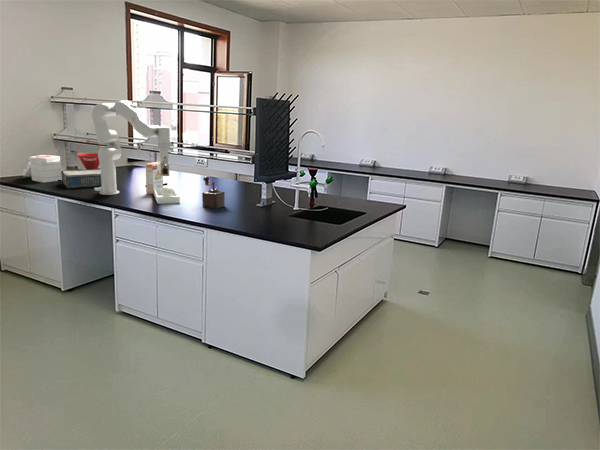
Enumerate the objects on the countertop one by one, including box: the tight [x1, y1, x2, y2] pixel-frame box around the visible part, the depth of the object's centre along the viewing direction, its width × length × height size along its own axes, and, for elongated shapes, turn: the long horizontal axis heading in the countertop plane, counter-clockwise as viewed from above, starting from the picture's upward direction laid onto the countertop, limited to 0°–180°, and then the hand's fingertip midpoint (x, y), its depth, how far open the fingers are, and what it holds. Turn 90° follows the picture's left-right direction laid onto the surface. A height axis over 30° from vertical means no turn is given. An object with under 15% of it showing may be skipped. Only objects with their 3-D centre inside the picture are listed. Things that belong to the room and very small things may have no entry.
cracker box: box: [145, 161, 164, 195], centre depth 324 cm, size 14×6×21 cm, turn 168°
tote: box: [153, 187, 181, 205], centre depth 304 cm, size 14×30×5 cm, turn 22°
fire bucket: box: [75, 140, 103, 170], centre depth 365 cm, size 22×20×30 cm
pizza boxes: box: [21, 154, 63, 183], centre depth 353 cm, size 19×30×18 cm, turn 58°
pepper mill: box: [201, 176, 226, 210], centre depth 291 cm, size 16×11×18 cm
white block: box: [162, 187, 173, 197], centre depth 296 cm, size 6×6×8 cm
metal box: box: [61, 168, 101, 189], centre depth 342 cm, size 21×32×10 cm, turn 123°
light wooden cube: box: [160, 162, 170, 177], centre depth 304 cm, size 5×5×8 cm
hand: (164, 173), depth 305 cm, fingers closed on light wooden cube, 5 cm apart
